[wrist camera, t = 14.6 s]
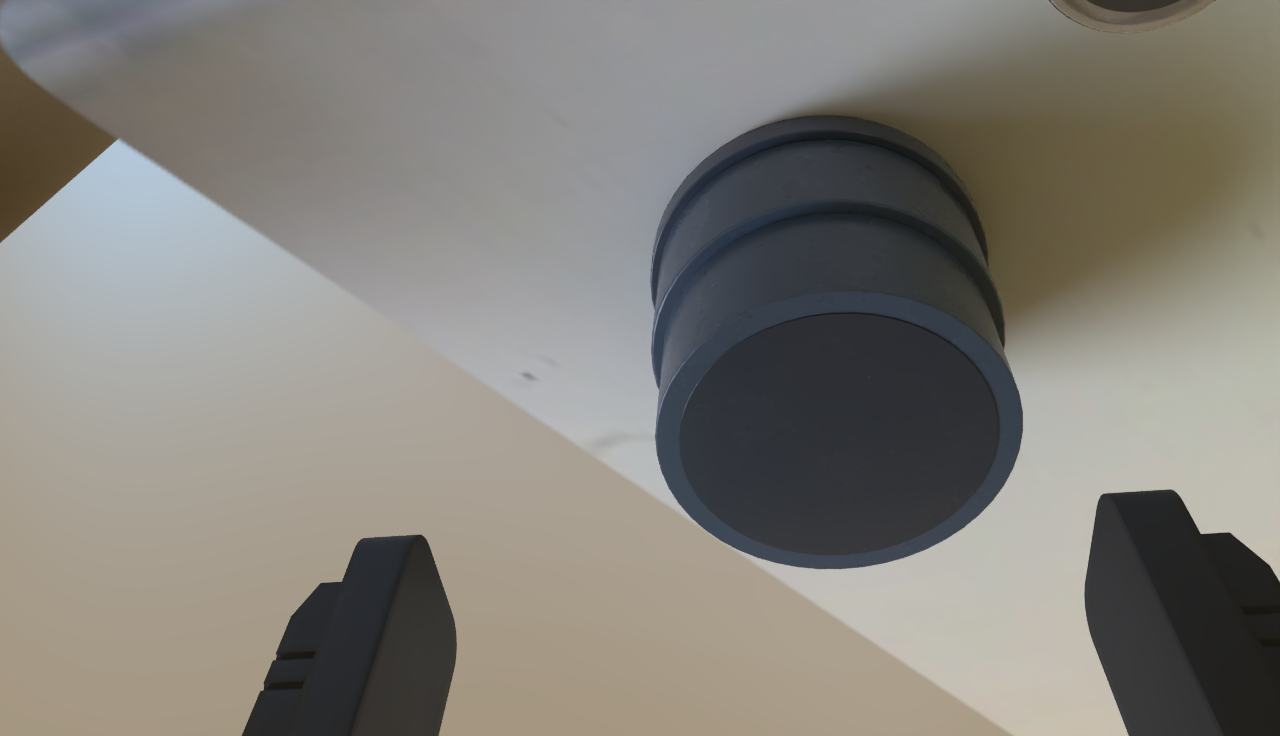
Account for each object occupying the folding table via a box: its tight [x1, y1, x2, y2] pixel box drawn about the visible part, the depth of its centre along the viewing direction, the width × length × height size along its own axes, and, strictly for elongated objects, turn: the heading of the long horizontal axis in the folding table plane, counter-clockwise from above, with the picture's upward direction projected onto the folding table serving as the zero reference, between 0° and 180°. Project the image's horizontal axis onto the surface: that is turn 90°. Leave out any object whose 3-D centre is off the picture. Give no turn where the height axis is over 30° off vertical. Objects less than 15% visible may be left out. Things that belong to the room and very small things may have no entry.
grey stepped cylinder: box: [651, 116, 1023, 569], centre depth 35 cm, size 12×12×10 cm
